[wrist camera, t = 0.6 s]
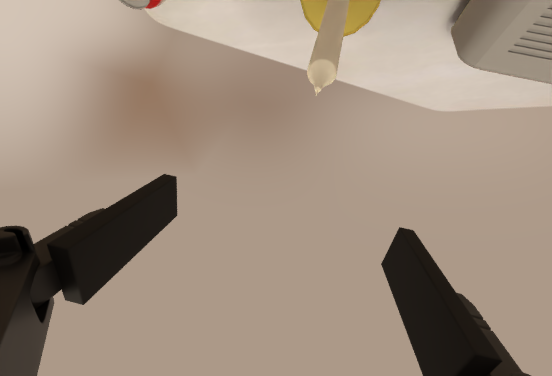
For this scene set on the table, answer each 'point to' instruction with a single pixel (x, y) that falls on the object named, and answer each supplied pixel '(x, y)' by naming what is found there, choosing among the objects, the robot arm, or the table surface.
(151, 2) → the beer can
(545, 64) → the alarm clock
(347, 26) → the candle
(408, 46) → the table surface
